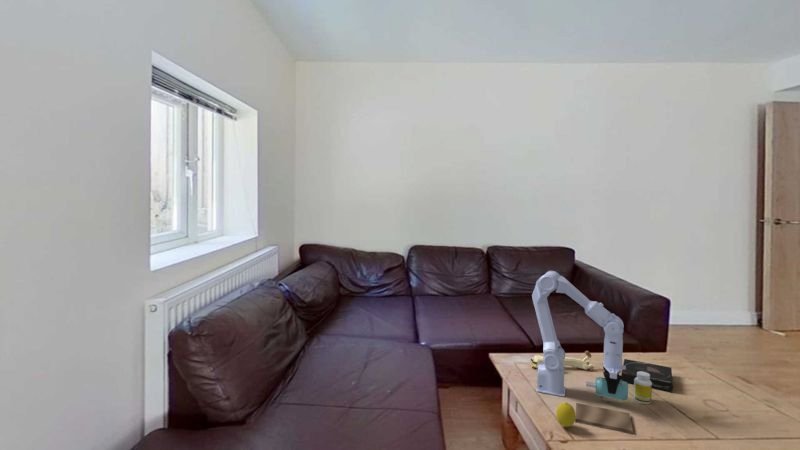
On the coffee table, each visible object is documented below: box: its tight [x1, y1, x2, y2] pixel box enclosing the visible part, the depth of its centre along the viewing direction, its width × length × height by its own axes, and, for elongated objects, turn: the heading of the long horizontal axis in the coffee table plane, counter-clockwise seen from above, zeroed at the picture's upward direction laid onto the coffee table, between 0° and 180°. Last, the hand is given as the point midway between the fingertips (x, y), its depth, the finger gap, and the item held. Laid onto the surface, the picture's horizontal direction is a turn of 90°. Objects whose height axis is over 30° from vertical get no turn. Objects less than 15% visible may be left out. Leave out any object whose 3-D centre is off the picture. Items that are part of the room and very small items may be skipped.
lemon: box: [555, 401, 576, 429], centre depth 127 cm, size 6×6×8 cm
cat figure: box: [529, 350, 594, 372], centre depth 170 cm, size 10×9×25 cm
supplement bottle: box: [633, 371, 653, 405], centre depth 143 cm, size 5×5×10 cm
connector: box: [585, 376, 629, 401], centre depth 141 cm, size 13×4×5 cm, turn 65°
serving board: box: [574, 402, 634, 435], centre depth 131 cm, size 16×11×1 cm
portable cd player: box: [620, 358, 674, 394], centre depth 160 cm, size 16×17×4 cm
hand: (611, 390), depth 141 cm, fingers closed on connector, 4 cm apart
